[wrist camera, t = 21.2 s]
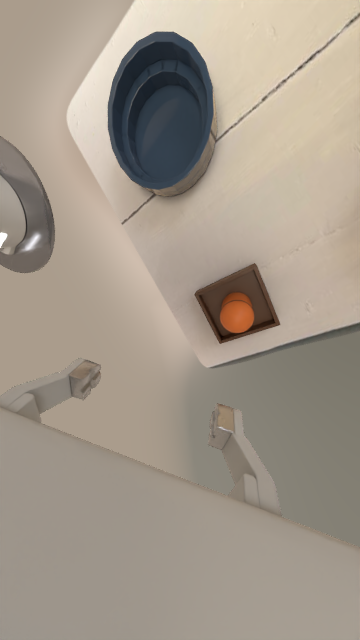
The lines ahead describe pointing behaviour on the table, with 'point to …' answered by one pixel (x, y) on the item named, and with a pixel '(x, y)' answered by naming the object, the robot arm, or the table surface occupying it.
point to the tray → (244, 283)
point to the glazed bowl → (162, 114)
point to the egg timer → (237, 313)
